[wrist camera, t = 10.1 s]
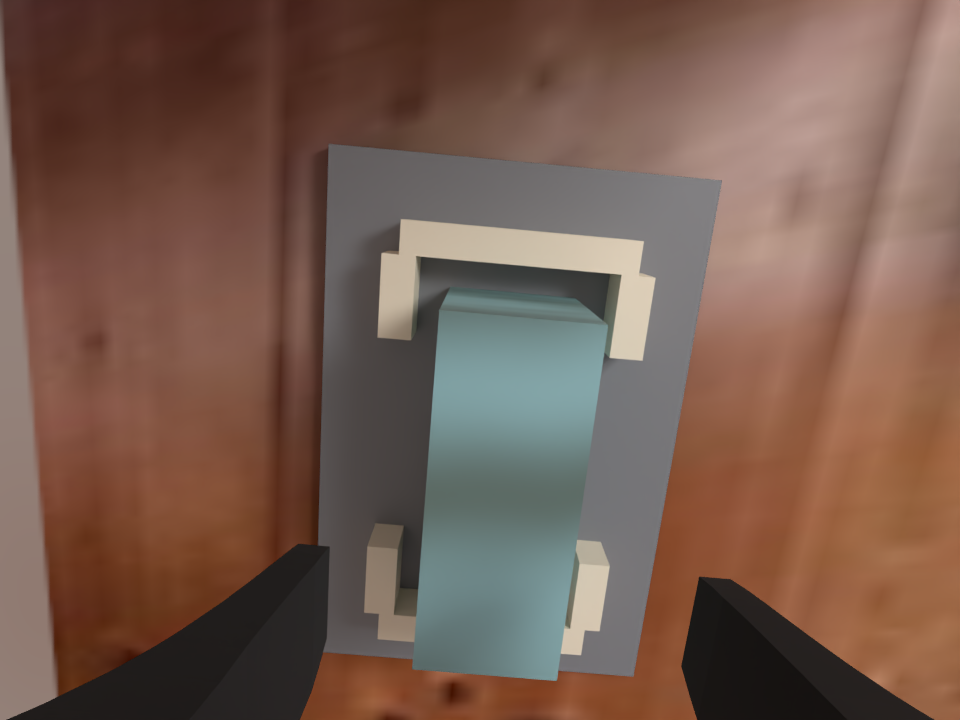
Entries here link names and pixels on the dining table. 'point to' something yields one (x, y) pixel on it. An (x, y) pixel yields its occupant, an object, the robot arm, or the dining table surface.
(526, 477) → the teal block
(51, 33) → the dining table surface
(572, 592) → the jig
